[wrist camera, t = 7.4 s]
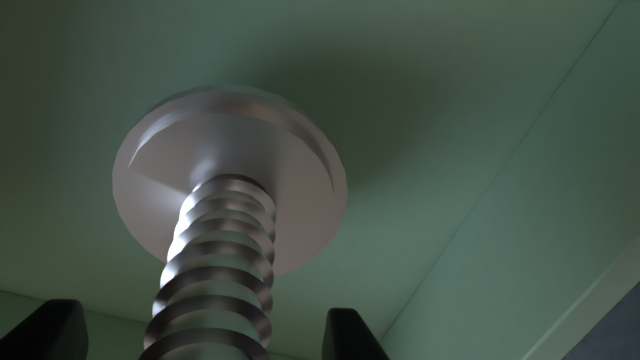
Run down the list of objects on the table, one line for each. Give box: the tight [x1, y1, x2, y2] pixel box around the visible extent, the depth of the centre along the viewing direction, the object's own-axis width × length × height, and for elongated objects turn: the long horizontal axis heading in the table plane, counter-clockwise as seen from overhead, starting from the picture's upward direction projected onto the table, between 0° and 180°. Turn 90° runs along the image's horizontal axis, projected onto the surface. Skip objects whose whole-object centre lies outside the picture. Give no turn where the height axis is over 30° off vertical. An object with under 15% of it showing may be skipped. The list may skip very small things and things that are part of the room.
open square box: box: [0, 0, 640, 360], centre depth 11 cm, size 16×15×5 cm
